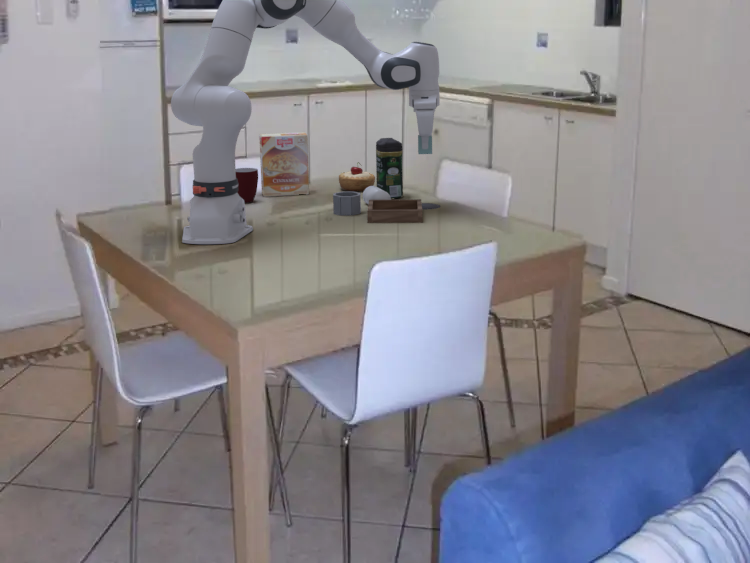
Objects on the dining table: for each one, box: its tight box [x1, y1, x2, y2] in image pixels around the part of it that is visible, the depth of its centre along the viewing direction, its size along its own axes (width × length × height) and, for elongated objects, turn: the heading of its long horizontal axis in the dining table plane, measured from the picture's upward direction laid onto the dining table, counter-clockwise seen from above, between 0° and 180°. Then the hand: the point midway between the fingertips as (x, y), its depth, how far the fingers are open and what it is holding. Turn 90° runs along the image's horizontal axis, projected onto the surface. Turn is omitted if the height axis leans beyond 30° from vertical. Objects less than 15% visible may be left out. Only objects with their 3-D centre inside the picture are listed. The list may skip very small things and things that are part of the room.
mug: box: [235, 167, 259, 204], centre depth 287 cm, size 10×8×10 cm
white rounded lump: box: [362, 185, 392, 205], centre depth 276 cm, size 9×6×6 cm
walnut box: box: [366, 198, 423, 224], centre depth 261 cm, size 15×15×4 cm
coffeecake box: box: [258, 131, 310, 198], centre depth 296 cm, size 15×7×20 cm, turn 103°
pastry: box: [338, 161, 376, 192], centre depth 304 cm, size 12×12×9 cm
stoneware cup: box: [332, 191, 362, 216], centre depth 267 cm, size 8×8×6 cm
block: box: [417, 134, 433, 155], centre depth 269 cm, size 4×4×5 cm
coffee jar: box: [375, 137, 404, 200], centre depth 290 cm, size 10×8×19 cm
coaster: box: [422, 202, 441, 211], centre depth 275 cm, size 9×9×1 cm
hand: (424, 147), depth 269 cm, fingers closed on block, 4 cm apart
